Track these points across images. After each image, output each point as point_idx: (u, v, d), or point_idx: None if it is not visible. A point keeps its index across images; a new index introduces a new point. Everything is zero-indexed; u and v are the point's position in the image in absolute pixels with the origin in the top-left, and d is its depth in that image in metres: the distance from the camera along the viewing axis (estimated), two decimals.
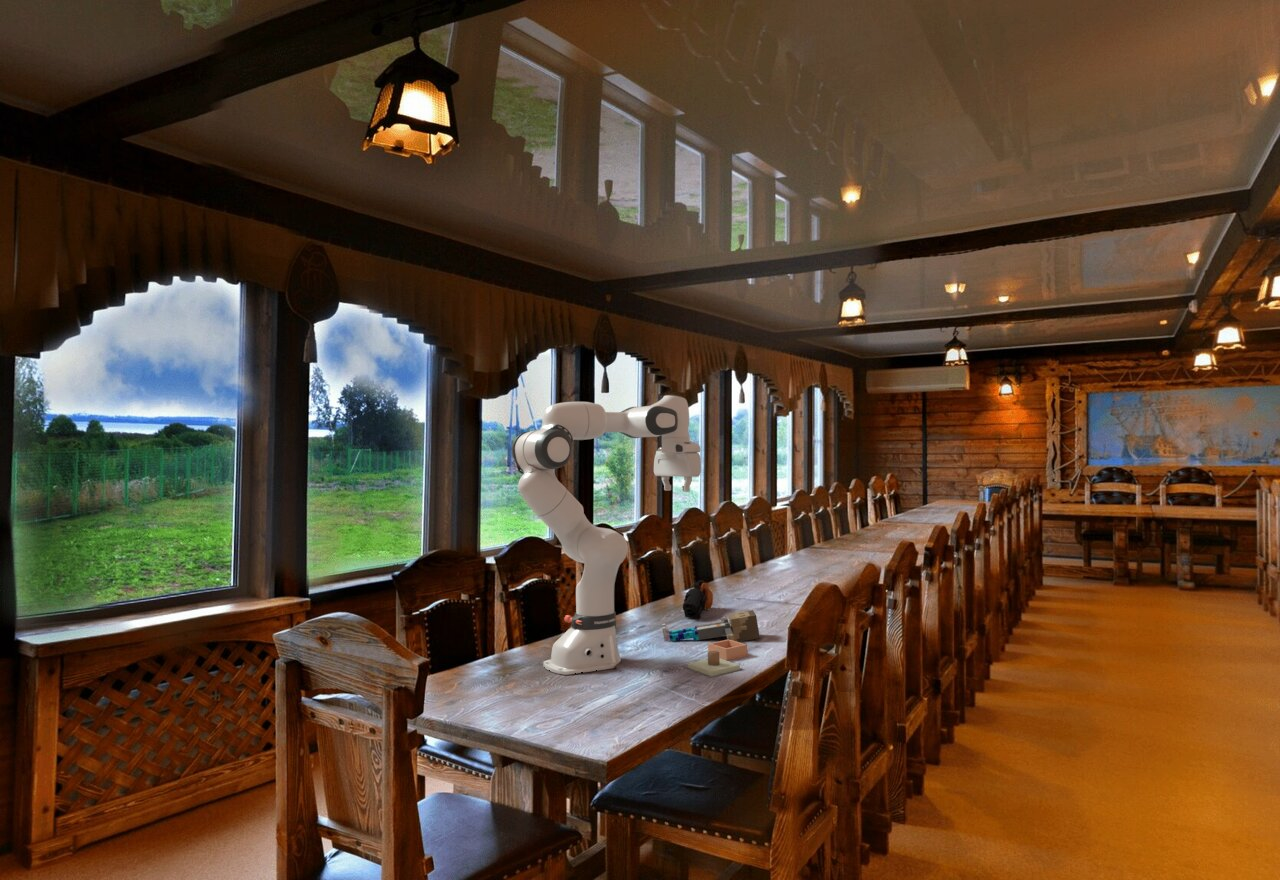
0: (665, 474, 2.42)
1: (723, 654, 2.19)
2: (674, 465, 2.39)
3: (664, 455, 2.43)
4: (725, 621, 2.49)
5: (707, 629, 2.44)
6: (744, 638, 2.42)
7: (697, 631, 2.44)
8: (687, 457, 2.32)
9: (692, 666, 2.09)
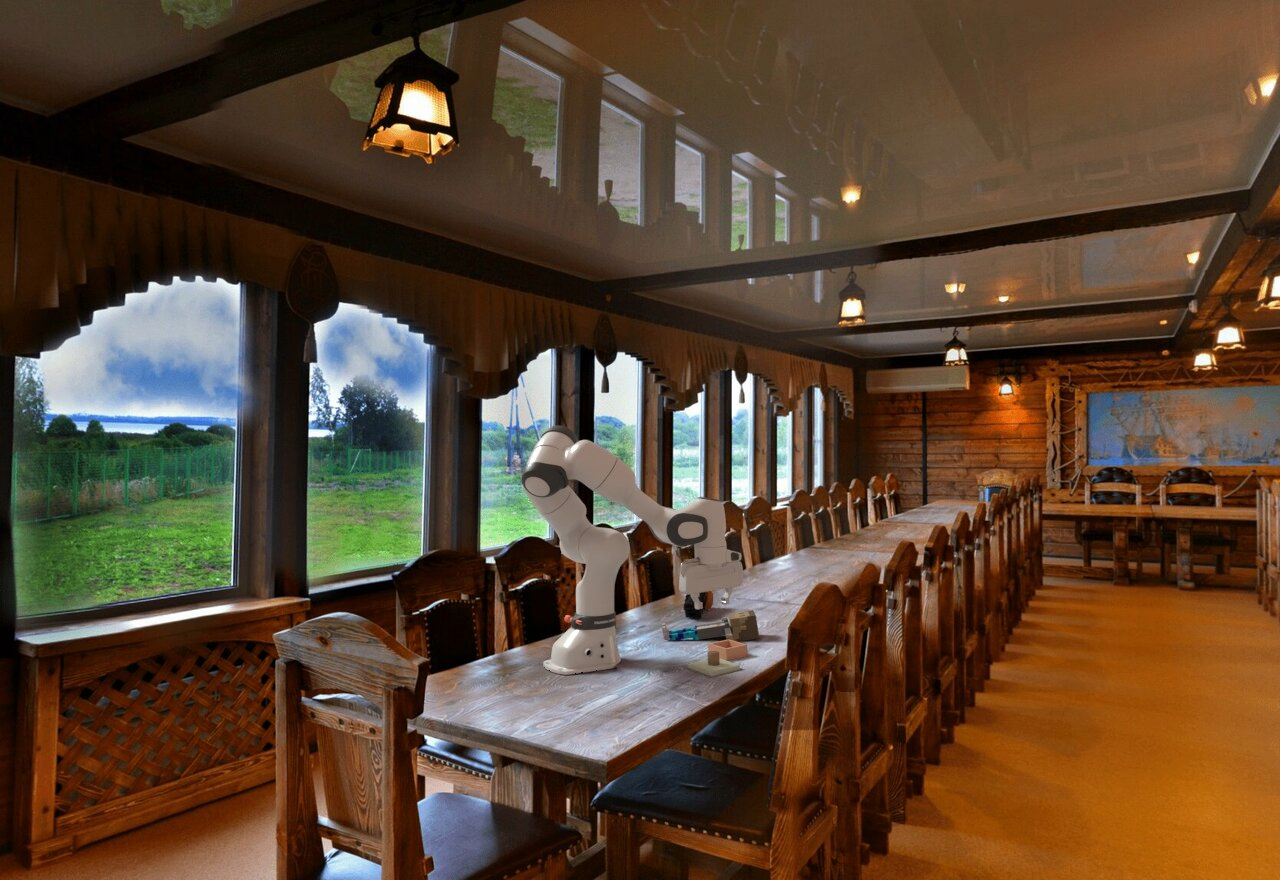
0: (706, 589, 2.07)
1: (723, 654, 2.19)
2: (718, 577, 2.10)
3: (704, 567, 2.07)
4: (725, 621, 2.49)
5: (707, 629, 2.44)
6: (744, 638, 2.42)
7: (697, 631, 2.44)
8: (741, 565, 2.13)
9: (692, 666, 2.09)
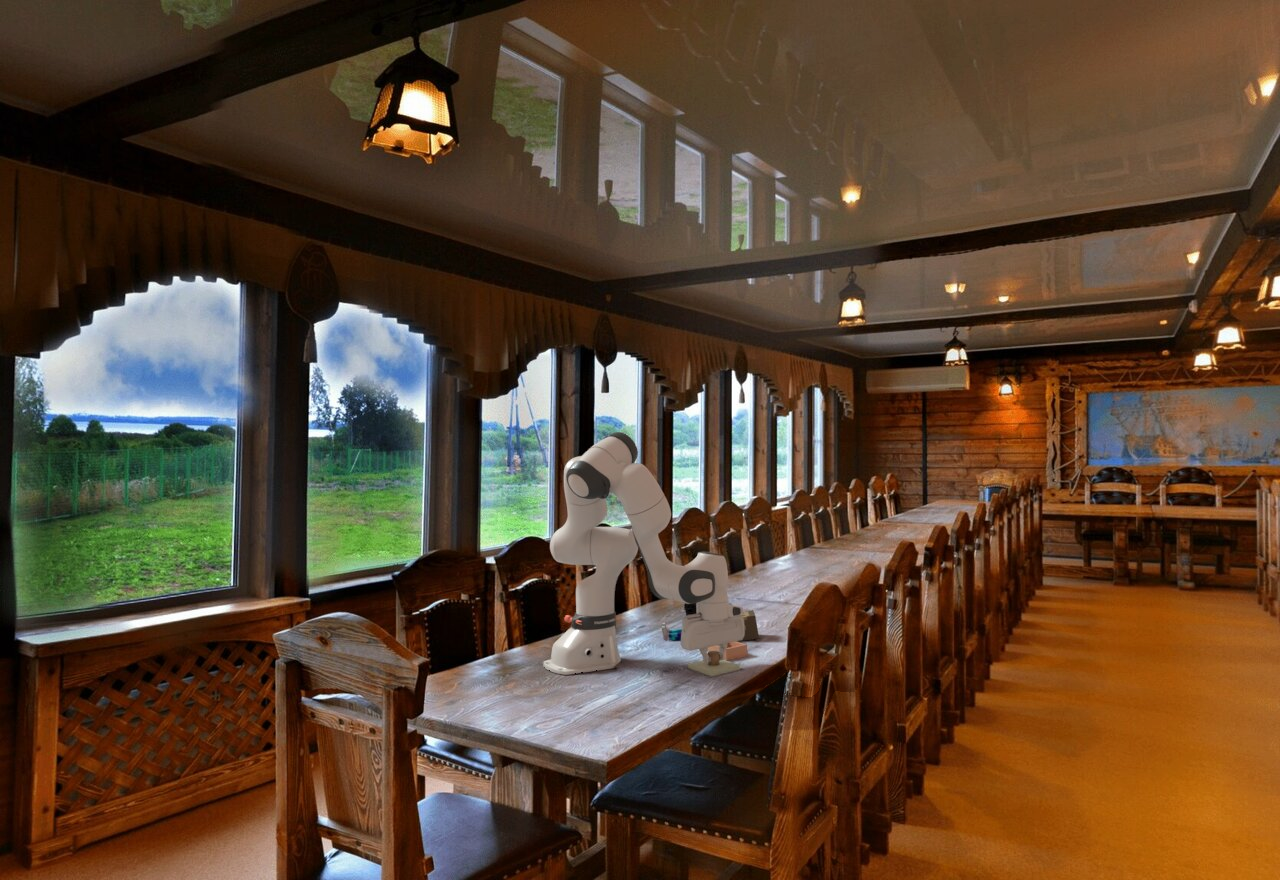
0: (707, 645, 2.06)
1: None
2: (720, 632, 2.09)
3: (706, 623, 2.06)
4: None
5: None
6: (743, 638, 2.42)
7: None
8: (742, 619, 2.13)
9: (692, 666, 2.09)
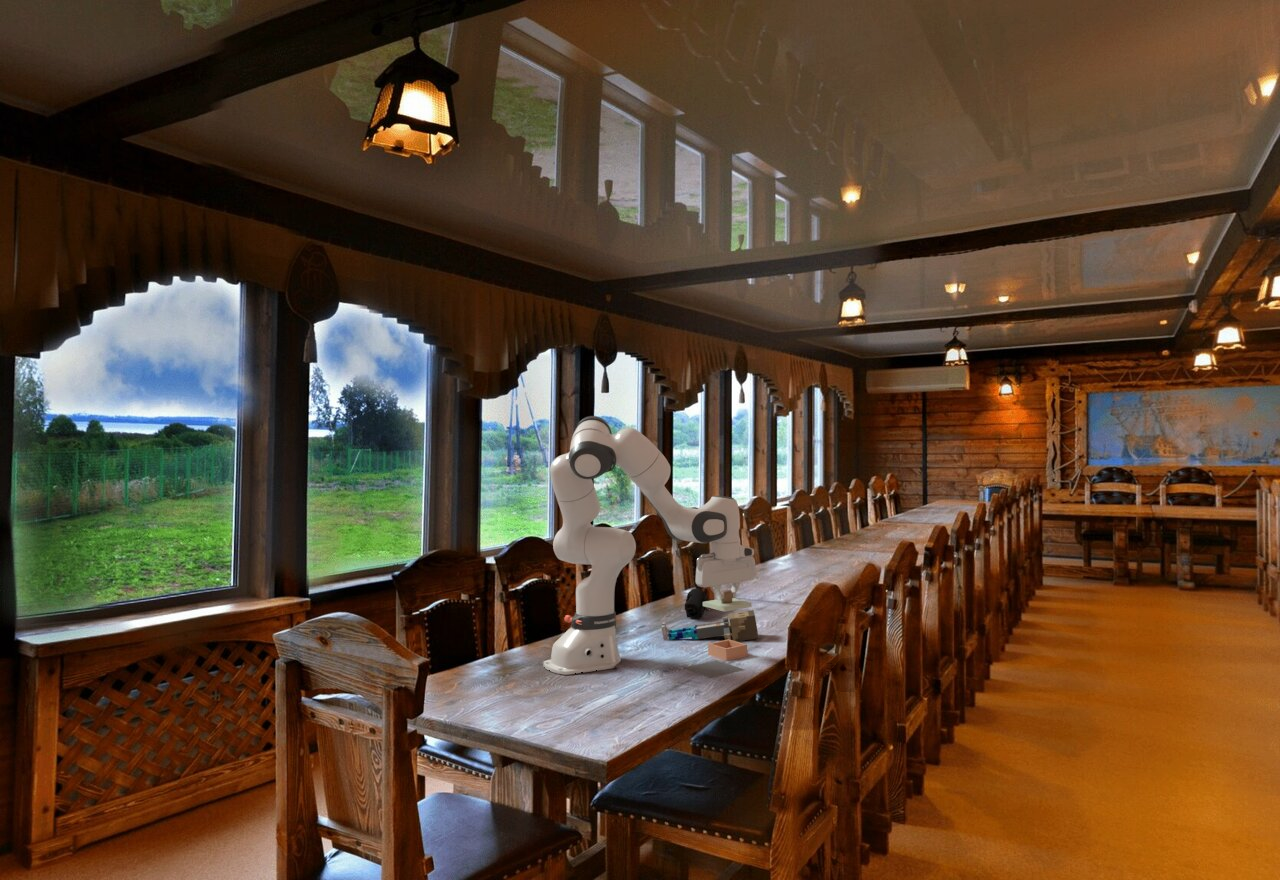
0: (721, 583, 2.19)
1: (723, 654, 2.19)
2: (732, 571, 2.22)
3: (719, 562, 2.19)
4: (725, 621, 2.49)
5: (706, 628, 2.44)
6: (743, 638, 2.42)
7: (696, 630, 2.45)
8: (753, 560, 2.26)
9: (706, 604, 2.22)
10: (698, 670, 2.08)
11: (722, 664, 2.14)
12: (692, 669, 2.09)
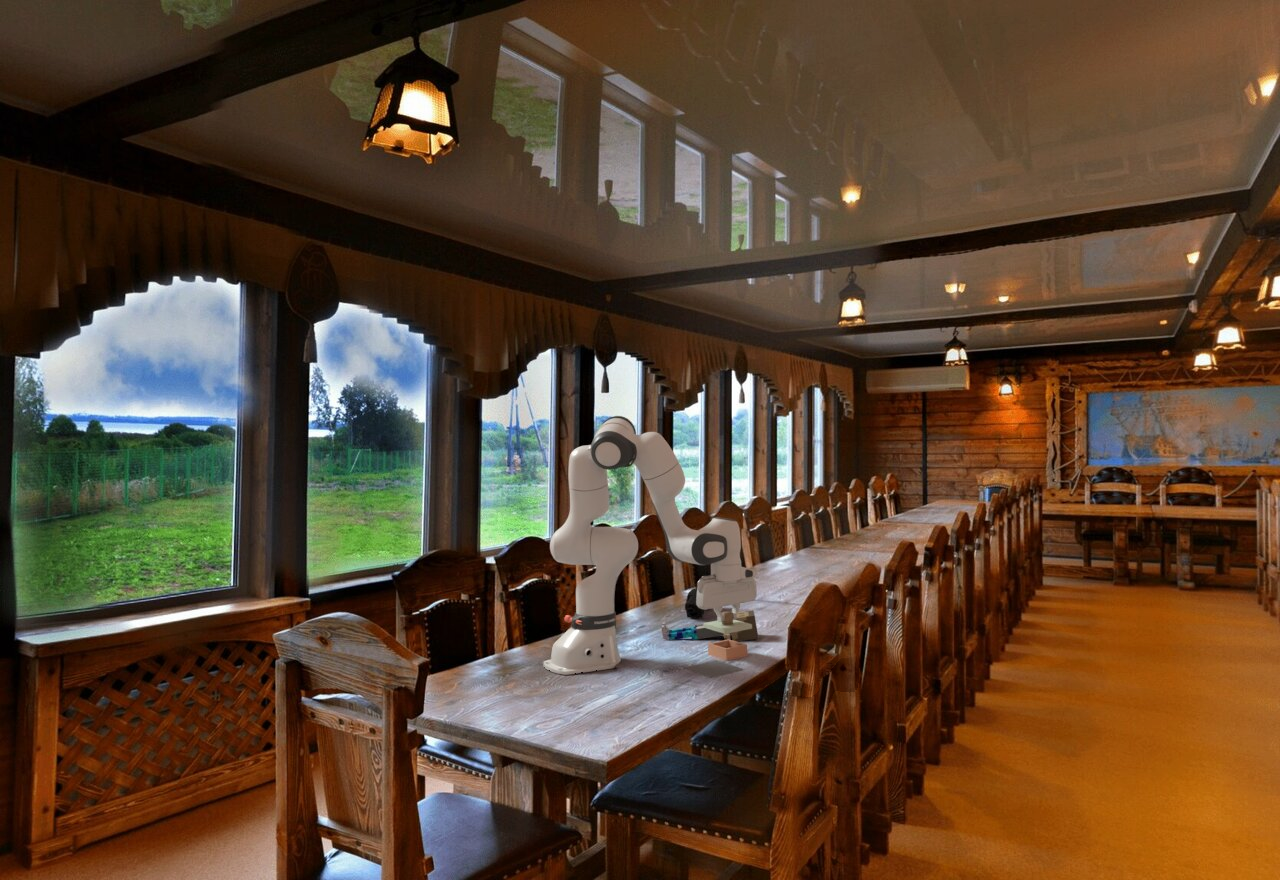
0: (721, 605, 2.19)
1: (723, 654, 2.19)
2: (733, 593, 2.22)
3: (720, 584, 2.19)
4: None
5: (706, 628, 2.45)
6: (742, 638, 2.42)
7: (696, 630, 2.45)
8: (754, 581, 2.26)
9: (707, 625, 2.22)
10: (698, 670, 2.08)
11: (722, 664, 2.14)
12: (692, 669, 2.09)
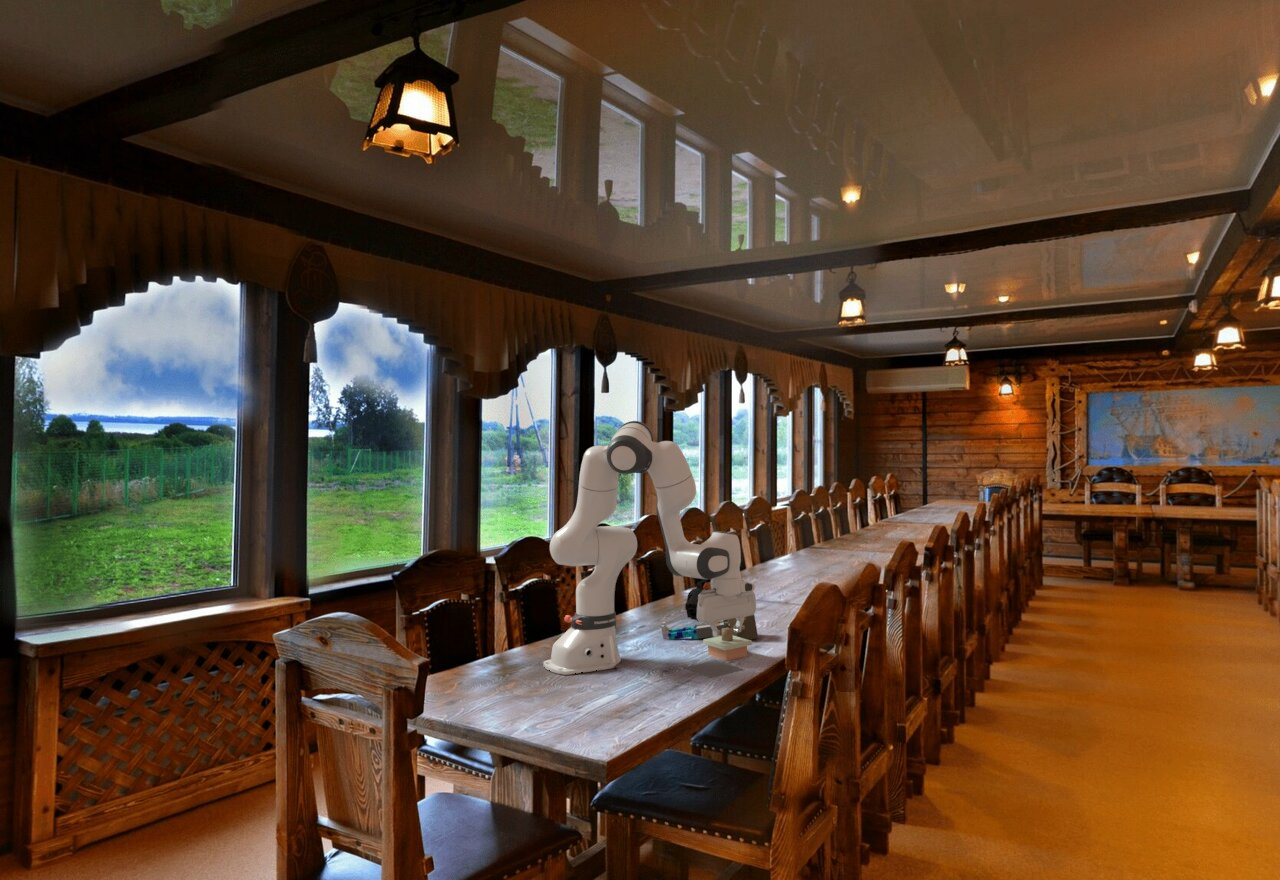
0: (721, 618, 2.20)
1: (723, 654, 2.19)
2: (733, 606, 2.23)
3: (720, 598, 2.20)
4: (725, 620, 2.50)
5: (705, 628, 2.45)
6: None
7: (695, 630, 2.45)
8: (754, 595, 2.26)
9: (707, 642, 2.23)
10: (698, 670, 2.08)
11: (722, 664, 2.14)
12: (692, 669, 2.09)
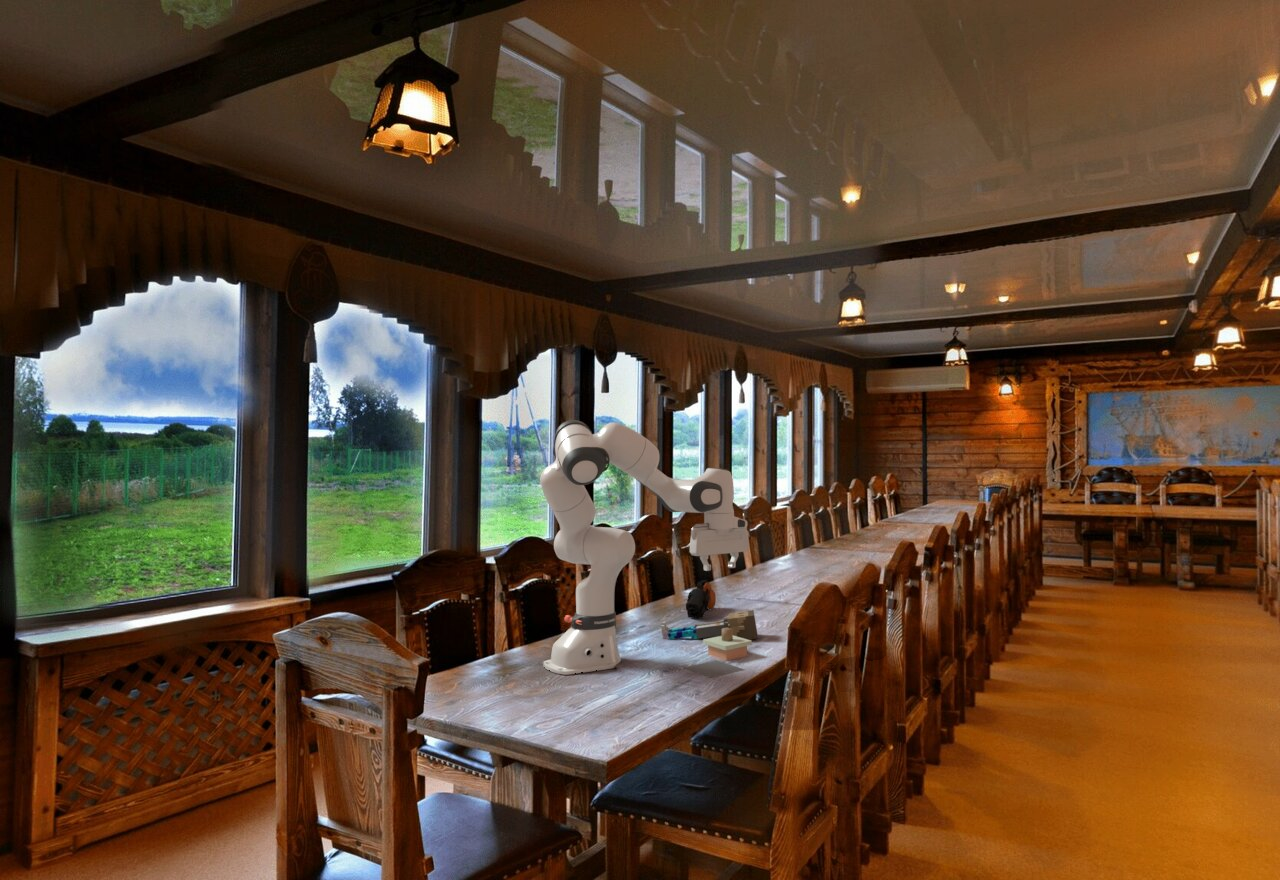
0: (714, 552, 2.24)
1: (723, 654, 2.19)
2: (726, 542, 2.26)
3: (713, 532, 2.24)
4: (725, 620, 2.50)
5: (705, 628, 2.45)
6: None
7: (695, 630, 2.45)
8: (746, 532, 2.30)
9: (707, 642, 2.23)
10: (698, 670, 2.08)
11: (722, 664, 2.14)
12: (692, 669, 2.09)
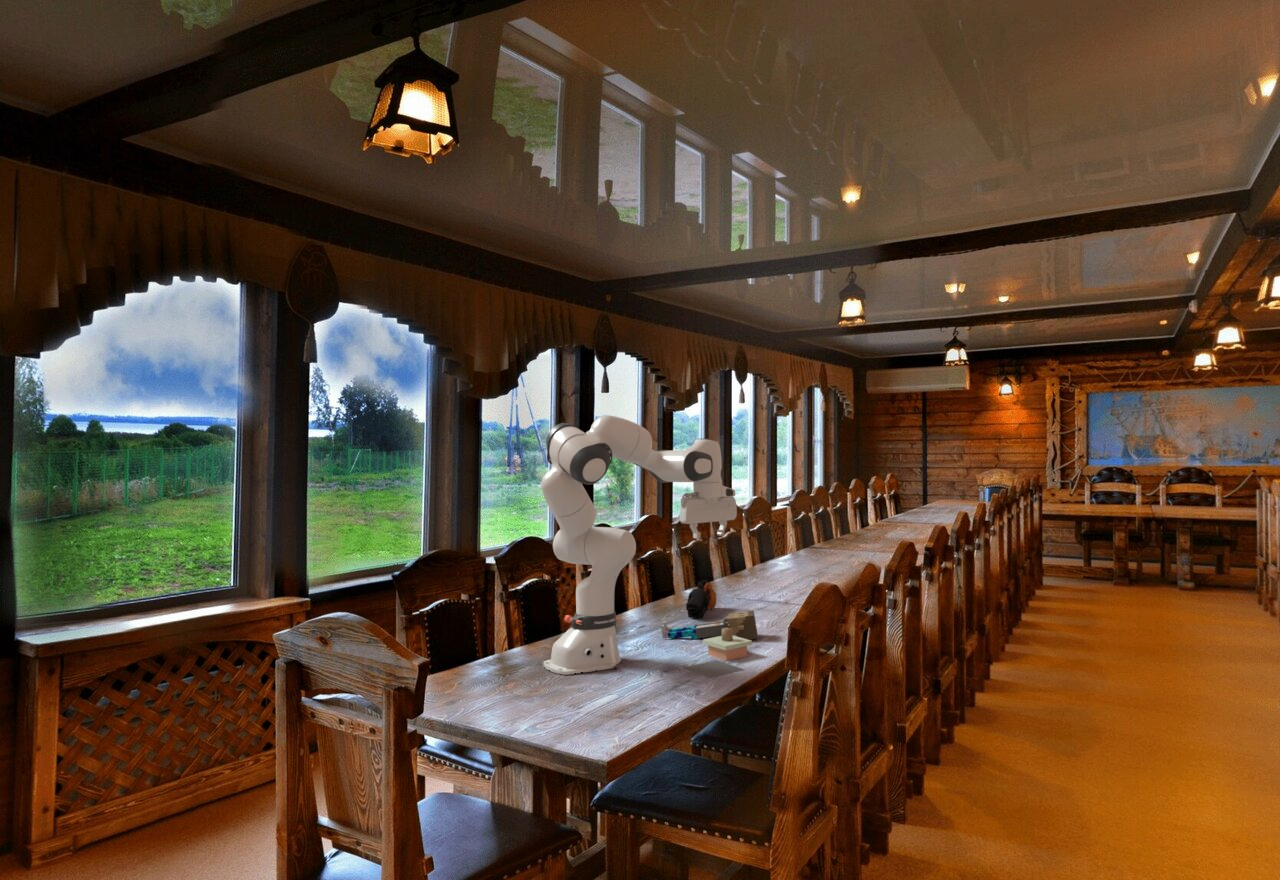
0: (703, 520, 2.31)
1: (723, 654, 2.19)
2: (715, 510, 2.34)
3: (702, 501, 2.31)
4: (725, 620, 2.50)
5: (705, 628, 2.45)
6: None
7: (695, 630, 2.46)
8: (734, 501, 2.38)
9: (707, 642, 2.23)
10: (698, 670, 2.08)
11: (722, 664, 2.14)
12: (692, 669, 2.09)
